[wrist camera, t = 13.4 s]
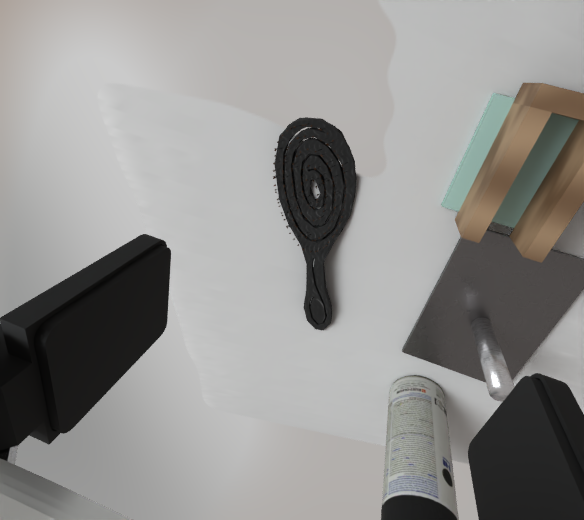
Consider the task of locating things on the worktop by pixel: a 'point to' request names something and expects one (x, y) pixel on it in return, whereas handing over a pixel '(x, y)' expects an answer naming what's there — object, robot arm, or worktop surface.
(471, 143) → the mat
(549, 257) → the stand
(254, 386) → the worktop surface
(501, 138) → the arch block
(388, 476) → the spray can
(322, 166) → the hairbrush
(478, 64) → the worktop surface
